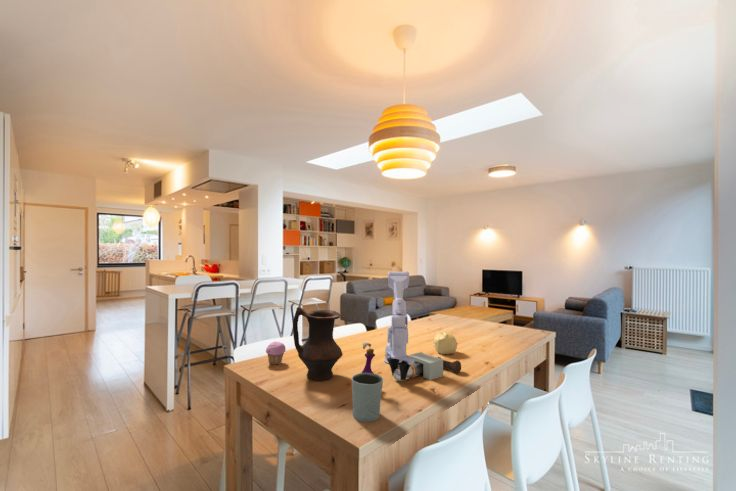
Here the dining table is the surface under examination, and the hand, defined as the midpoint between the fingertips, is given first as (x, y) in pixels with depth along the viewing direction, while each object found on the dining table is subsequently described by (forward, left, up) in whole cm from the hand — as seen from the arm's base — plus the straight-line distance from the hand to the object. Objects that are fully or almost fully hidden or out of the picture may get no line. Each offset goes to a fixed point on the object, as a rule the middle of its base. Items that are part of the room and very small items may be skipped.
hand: (399, 377), depth 137 cm
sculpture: (-15, +46, -2) cm, 49 cm away
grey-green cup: (+15, -28, -2) cm, 31 cm away
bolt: (+1, +27, -2) cm, 27 cm away
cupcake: (-50, -33, -2) cm, 60 cm away
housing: (0, +15, -2) cm, 16 cm away
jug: (-24, -25, -2) cm, 34 cm away
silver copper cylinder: (0, +6, -1) cm, 6 cm away
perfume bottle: (-1, -16, -2) cm, 16 cm away
